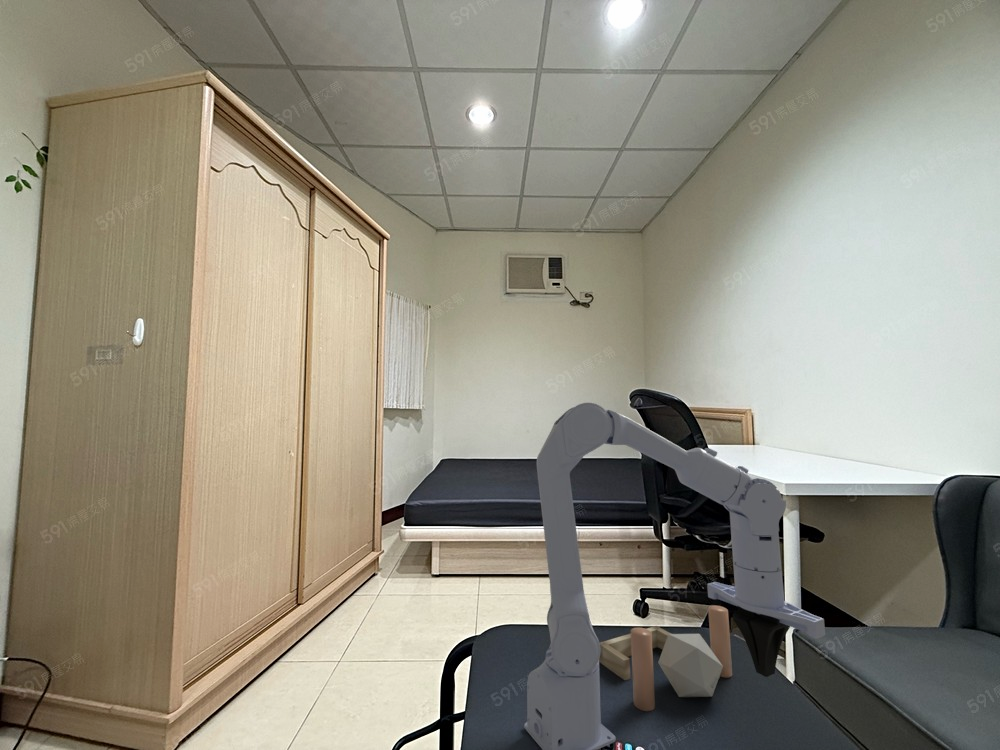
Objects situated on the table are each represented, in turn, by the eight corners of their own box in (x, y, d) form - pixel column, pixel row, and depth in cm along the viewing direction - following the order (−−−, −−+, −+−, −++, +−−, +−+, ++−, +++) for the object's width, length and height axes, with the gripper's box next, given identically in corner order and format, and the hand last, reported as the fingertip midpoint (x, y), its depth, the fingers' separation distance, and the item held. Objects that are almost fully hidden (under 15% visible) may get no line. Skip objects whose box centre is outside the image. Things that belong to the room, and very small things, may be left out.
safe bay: (624, 680, 68) (624, 660, 68) (598, 661, 74) (597, 643, 74) (685, 658, 75) (684, 640, 75) (656, 642, 80) (656, 625, 81)
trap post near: (644, 713, 60) (641, 638, 61) (629, 701, 63) (626, 630, 64) (659, 707, 61) (656, 634, 63) (643, 695, 64) (640, 625, 65)
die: (719, 722, 59) (738, 652, 63) (661, 683, 61) (684, 618, 65) (694, 709, 66) (713, 647, 70) (644, 675, 68) (665, 617, 72)
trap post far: (724, 679, 68) (720, 614, 70) (708, 670, 71) (704, 607, 72) (736, 674, 70) (731, 610, 71) (719, 665, 72) (715, 604, 74)
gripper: (832, 576, 53) (845, 693, 51) (725, 548, 66) (732, 641, 64) (802, 586, 50) (814, 711, 48) (695, 555, 63) (702, 653, 61)
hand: (765, 672), depth 56 cm, fingers closed
